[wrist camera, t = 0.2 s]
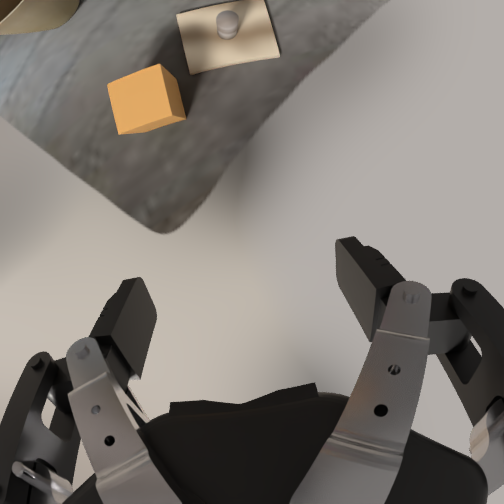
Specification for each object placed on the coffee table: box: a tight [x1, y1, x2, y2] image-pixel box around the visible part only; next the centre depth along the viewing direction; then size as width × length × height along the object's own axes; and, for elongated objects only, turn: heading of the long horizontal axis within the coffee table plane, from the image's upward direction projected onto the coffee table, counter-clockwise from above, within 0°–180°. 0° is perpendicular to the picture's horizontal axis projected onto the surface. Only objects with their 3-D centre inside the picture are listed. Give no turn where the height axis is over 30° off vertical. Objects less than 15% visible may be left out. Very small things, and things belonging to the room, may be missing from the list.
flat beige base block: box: [176, 0, 280, 75], centre depth 26 cm, size 10×12×6 cm
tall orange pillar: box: [107, 64, 186, 134], centre depth 28 cm, size 6×6×10 cm
